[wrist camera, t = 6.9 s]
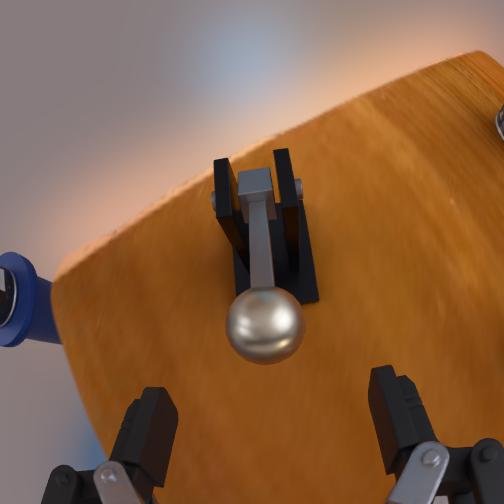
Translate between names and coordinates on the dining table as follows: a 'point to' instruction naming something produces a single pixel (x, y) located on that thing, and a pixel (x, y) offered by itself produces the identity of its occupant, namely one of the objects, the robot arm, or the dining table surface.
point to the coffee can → (500, 122)
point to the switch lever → (262, 284)
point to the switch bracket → (281, 231)
